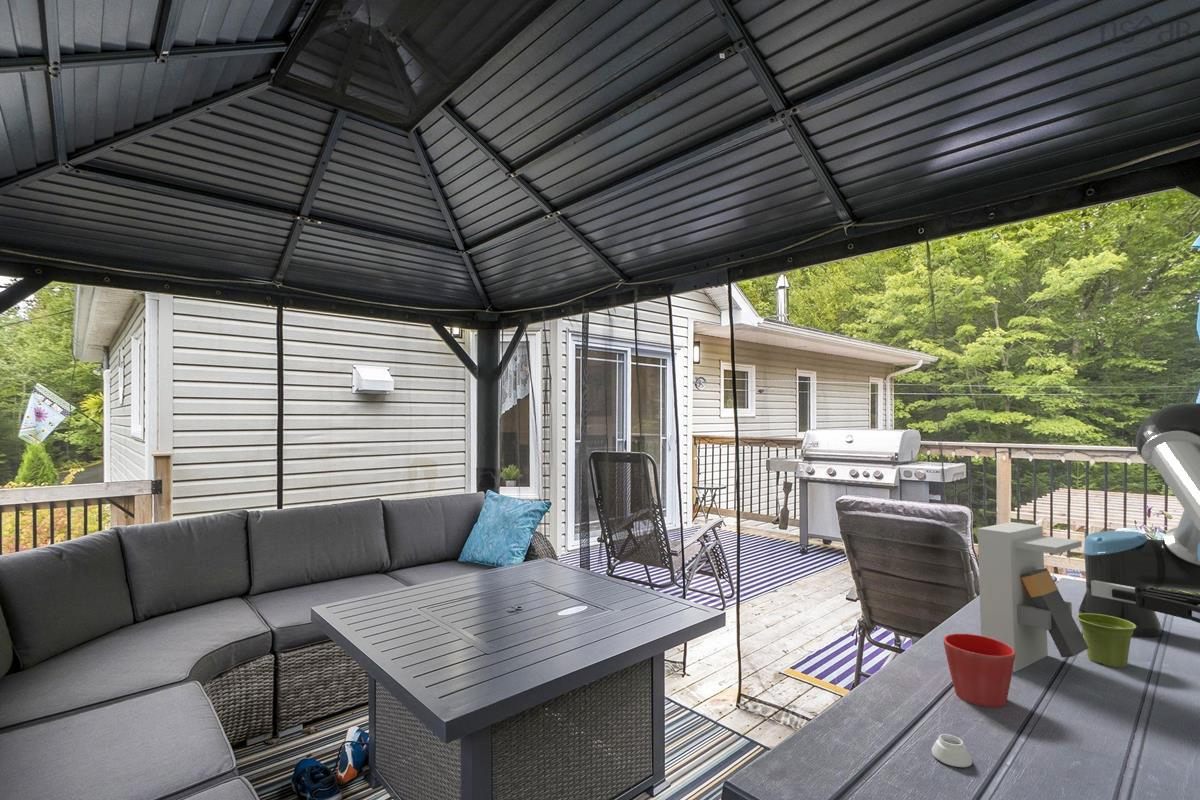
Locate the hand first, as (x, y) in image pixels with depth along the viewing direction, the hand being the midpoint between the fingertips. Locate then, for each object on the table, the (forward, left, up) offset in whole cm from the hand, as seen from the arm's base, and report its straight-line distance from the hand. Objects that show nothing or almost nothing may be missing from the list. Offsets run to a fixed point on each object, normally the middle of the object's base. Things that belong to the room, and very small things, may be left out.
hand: (1092, 587), depth 108 cm
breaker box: (+3, -10, -18) cm, 21 cm away
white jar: (+50, +11, -19) cm, 54 cm away
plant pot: (-13, -6, -18) cm, 24 cm away
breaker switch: (+1, -3, -14) cm, 14 cm away
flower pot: (+28, -2, -18) cm, 33 cm away
